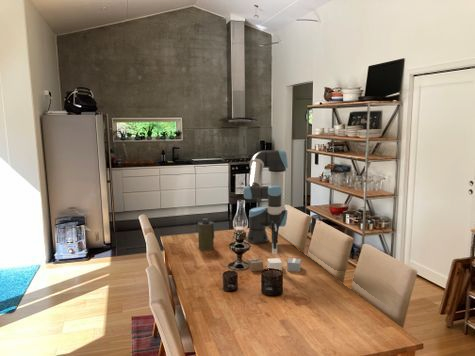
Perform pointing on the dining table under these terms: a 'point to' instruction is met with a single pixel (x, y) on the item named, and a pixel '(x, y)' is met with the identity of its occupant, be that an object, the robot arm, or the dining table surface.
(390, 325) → the dining table surface
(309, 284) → the dining table surface
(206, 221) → the canister
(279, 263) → the plain block
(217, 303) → the dining table surface
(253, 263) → the walnut block
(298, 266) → the grey block
